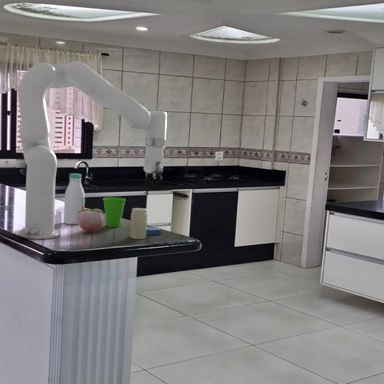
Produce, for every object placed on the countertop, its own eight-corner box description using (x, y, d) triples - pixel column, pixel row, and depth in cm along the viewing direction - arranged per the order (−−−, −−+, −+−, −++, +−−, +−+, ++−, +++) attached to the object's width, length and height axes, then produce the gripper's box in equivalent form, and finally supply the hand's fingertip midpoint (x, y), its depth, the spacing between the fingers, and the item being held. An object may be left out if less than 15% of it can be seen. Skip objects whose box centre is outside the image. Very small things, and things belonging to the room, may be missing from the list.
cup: (117, 223, 234) (118, 197, 233) (129, 227, 228) (130, 200, 227) (97, 225, 228) (98, 197, 227) (109, 228, 222) (110, 201, 220)
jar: (143, 239, 205) (144, 210, 204) (127, 238, 206) (129, 209, 205) (148, 236, 211) (149, 208, 210) (132, 235, 212) (134, 207, 211)
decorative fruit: (99, 230, 217) (100, 204, 216) (104, 234, 210) (105, 207, 209) (74, 230, 213) (75, 204, 212) (78, 235, 206) (79, 207, 205)
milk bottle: (77, 225, 224) (79, 175, 222) (60, 223, 225) (61, 173, 223) (87, 222, 231) (89, 174, 229) (70, 220, 233) (71, 172, 231)
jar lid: (161, 235, 216) (161, 230, 216) (143, 234, 214) (143, 229, 214) (159, 231, 223) (160, 227, 222) (142, 231, 221) (142, 226, 221)
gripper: (139, 141, 221) (137, 185, 222) (152, 144, 205) (149, 190, 207) (158, 142, 224) (155, 185, 226) (172, 145, 209) (169, 191, 210)
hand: (152, 188), depth 216 cm, fingers open, 9 cm apart
